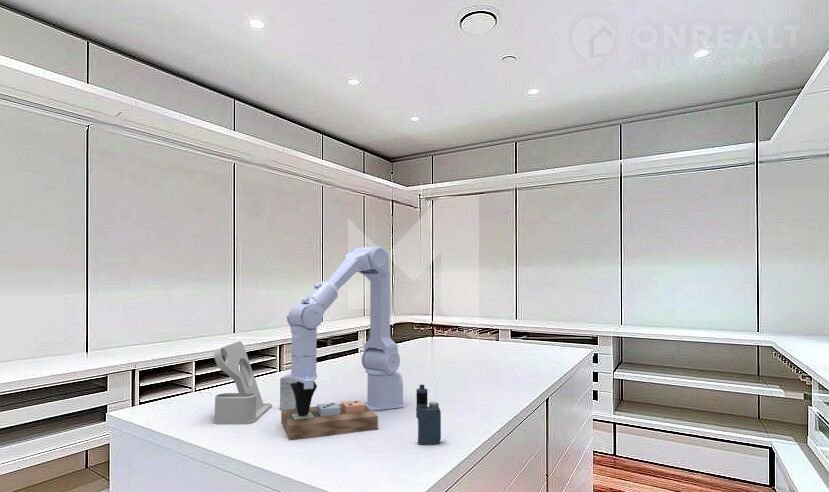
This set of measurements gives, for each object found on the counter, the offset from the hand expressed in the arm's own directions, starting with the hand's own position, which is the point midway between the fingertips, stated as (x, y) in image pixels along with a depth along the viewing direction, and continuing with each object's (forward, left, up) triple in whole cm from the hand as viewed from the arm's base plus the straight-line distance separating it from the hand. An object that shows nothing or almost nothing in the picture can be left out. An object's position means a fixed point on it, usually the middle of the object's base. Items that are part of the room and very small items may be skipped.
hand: (302, 414), depth 110 cm
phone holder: (+12, -18, -3) cm, 22 cm away
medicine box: (-1, -21, -3) cm, 21 cm away
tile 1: (0, 0, -2) cm, 2 cm away
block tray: (-6, 0, -3) cm, 7 cm away
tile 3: (-6, 0, -1) cm, 6 cm away
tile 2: (-12, 0, -1) cm, 12 cm away
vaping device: (-23, +20, -3) cm, 31 cm away
